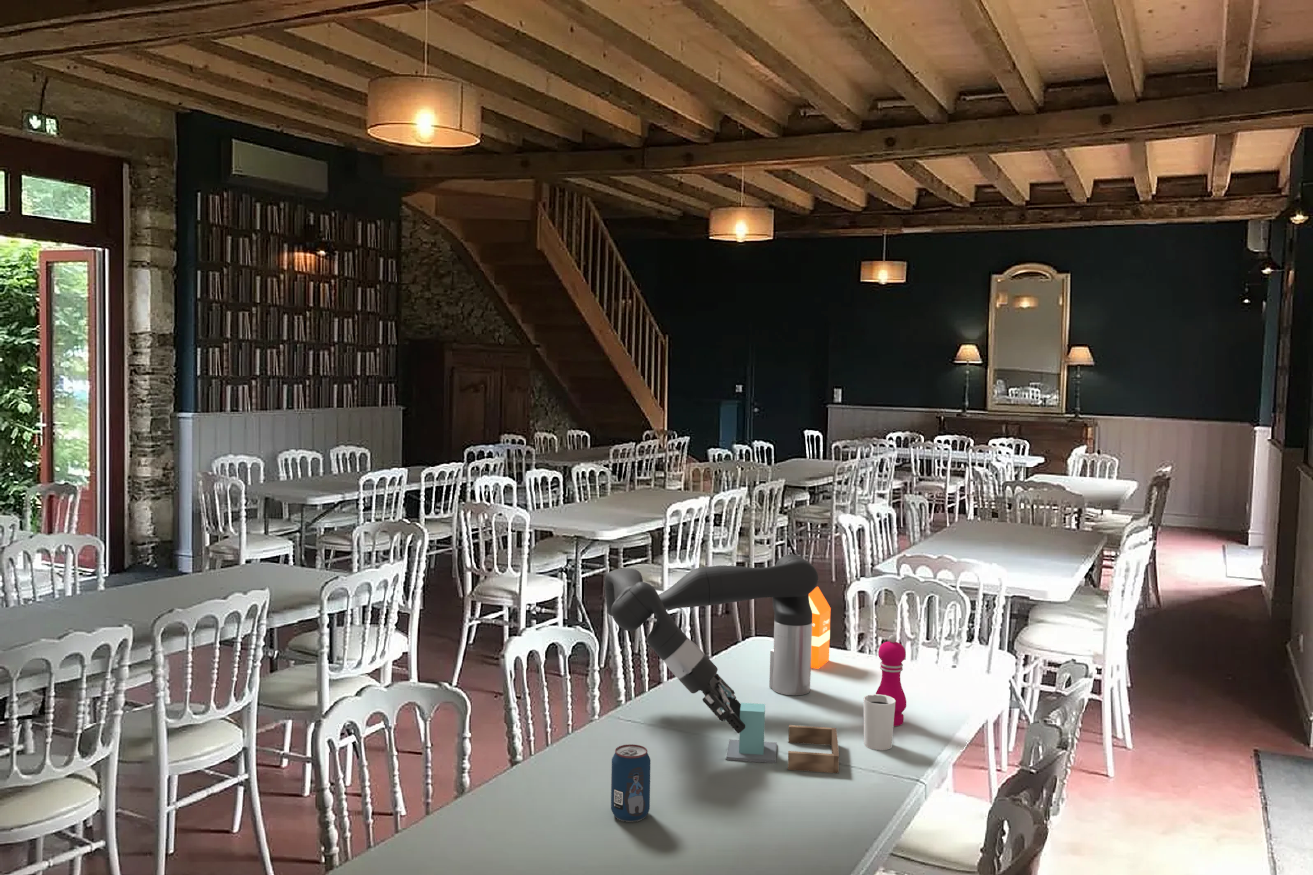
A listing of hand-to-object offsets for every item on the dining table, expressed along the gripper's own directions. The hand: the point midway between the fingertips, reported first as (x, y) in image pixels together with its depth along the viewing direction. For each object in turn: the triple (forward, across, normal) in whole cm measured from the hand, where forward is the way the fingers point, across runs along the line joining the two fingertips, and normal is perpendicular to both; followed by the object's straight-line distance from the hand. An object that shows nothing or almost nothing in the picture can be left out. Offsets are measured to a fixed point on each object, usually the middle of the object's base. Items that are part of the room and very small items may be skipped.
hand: (743, 722), depth 222 cm
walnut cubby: (+14, -1, +5) cm, 15 cm away
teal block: (+5, -1, -3) cm, 6 cm away
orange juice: (+15, -68, +6) cm, 70 cm away
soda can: (-8, +33, -18) cm, 39 cm away
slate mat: (+6, -1, -3) cm, 7 cm away
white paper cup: (+24, -10, +16) cm, 31 cm away
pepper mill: (+27, -25, +18) cm, 41 cm away
